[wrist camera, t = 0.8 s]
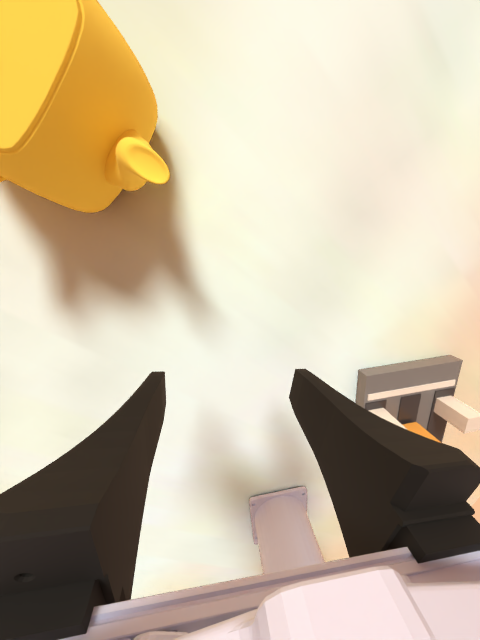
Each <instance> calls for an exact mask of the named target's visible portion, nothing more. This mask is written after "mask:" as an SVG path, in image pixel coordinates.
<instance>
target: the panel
mask: <svg viewBox="0 0 480 640" xmlns="http://www.w3.org/2000/svg"><path fill="white" fill-rule="evenodd" d="M462 361H463V360H461V359H458V358H456V357H454V356H452V355H447V356H441V357H434V358H428V359H422V360H416V361H409V362H403V363H397V364H391V365H385V366H378V367H372V368H366V369H360V370H359V372H358V383H357V394H356V404H358V405H359V406H361V407H363V408H364V409H366V410H368V411H370V412H372V413H373V414H375V415H377V416H379V417H381V418H383V419H385V420H387V421H389V422H391V423H393V424H396V425H398V426H400V427H402V428H404V429H406V428H405V427H404V426H403V425H402V424H407V423H413V422H417V423H418V424H420V425H421V426H422V427H423V428H424V429H426V430H427V431H428V432H429V433H430V434H432V435H433V436H434V437H435V438H436V439H438V440H439V441H440V442H441V443H442V439H443V435H444V431H445V427H446V424H447V422H449V423H450V424H452V425H453V426H454V427H456V428H457V429H458V430H460V431H461V432H463V433H469V432H474V431H479V430H480V412H478V411H476V410H475V409H473V408H471V407H470V406H468V405H466V404H465V403H463V402H461V401H460V400H458V399H456V398H455V397H453V396H454V392H455V388H456V385H457V381H458V377H459V373H460V369H461V365H462Z"/></svg>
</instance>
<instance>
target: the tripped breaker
mask: <svg viewBox="0 0 480 640" xmlns="http://www.w3.org/2000/svg"><path fill="white" fill-rule="evenodd" d="M402 425H403V426H404V427H405V428H406V429H407V430H409V431H411V432H414V433H416V434H419V435H421V436H424V437H426V438H429V439H432V440H434V441H437V442H440V441H439V440H438V439H436V438H435V437H434V436H433V435H432V434H430V433H429V432H428V431H427V430H426V429H424V428H423V427H422V426H421V425H420V424H418V423H417V422H413V423H407V424H402ZM440 443H441V442H440Z"/></svg>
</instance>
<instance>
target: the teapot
mask: <svg viewBox="0 0 480 640" xmlns="http://www.w3.org/2000/svg"><path fill="white" fill-rule="evenodd" d="M157 118H158V116H157V103H156V99H155V95H154V93H153V90H152V88H151V86H150V83H149V81H148V79H147V77H146V75H145V73H144V71H143V69H142V67H141V65H140V64H139V62H138V60H137V58H136V57H135V55H134V53H133V52H132V50H131V49H130V47H129V45H128V44H127V42H126V41H125V39H124V38H123V36H122V35H121V33H120V32H119V30H118V29H117V27H116V26H115V25H114V23H113V22H112V20H111V19H110V18H109V16H108V15H107V13H106V12H105V11H104V9H103V8H102V7H101V5H100V4H99V3H98V1H97V0H0V182H2V181H4V180H9V181H11V182H13V183H15V184H16V185H18V186H20V187H22V188H24V189H26V190H29V191H31V192H33V193H35V194H37V195H39V196H41V197H43V198H46V199H48V200H50V201H53V202H55V203H57V204H60V205H63V206H65V207H68V208H70V209H73V210H77V211H81V212H86V213H93V212H99V211H102V210H104V209H105V208H106V207H108V206H109V205H110V204H111V203H112V202H113V201H114V199H115V198H116V197H117V196H118V195H119V193H120V192H121V191H122V189H124V190H127V191H134V190H138V189H140V188H141V187H142V186H143V185H144V184H145V183H146V182H147V181H148V182H151V183H154V184H165V183H166V182H167V181H168V180H169V178H170V172H169V169H168V167H167V165H166V164H165V162H164V161H163V159H162V158H161V157H160V156H159V155H158V154H157V153H156V152H155V151H154V150H153V149H152V147H151V146H150V145H149V143H150V140H151V138H152V135H153V133H154V130H155V128H156V123H157Z"/></svg>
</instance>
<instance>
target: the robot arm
mask: <svg viewBox="0 0 480 640" xmlns="http://www.w3.org/2000/svg"><path fill="white" fill-rule="evenodd" d="M289 399H290V402H291V405H292V408H293V411H294V413H295V416H296V418H297V420H298V422H299V424H300V426H301V428H302V430H303V432H304V434H305V436H306V438H307V440H308V442H309V444H310V446H311V448H312V450H313V452H314V455H315V457H316V459H317V461H318V464H319V467H320V469H321V472H322V474H323V477H324V480H325V483H326V485H327V488H328V491H329V494H330V497H331V499H332V502H333V505H334V509H335V512H336V515H337V518H338V521H339V524H340V527H341V530H342V534H343V537H344V540H345V544H346V547H347V551H348V554H349V558H345V559H340V560H335V561H330V562H324V559H323V556H322V553H321V551H320V548H319V545H318V543H317V540H316V537H315V535H314V532H313V529H312V526H311V524H310V521H309V518H308V516H307V489H306V487H304V486H302V487H297V488H292V489H287V490H283V491H278V492H273V493H269V494H264V495H259V496H254V497H251V498H250V499H249V504H250V513H251V522H252V531H253V539H254V544H258V545H259V550H260V556H261V562H262V568H263V574H262V575H257V576H252V577H246V578H241V579H236V580H231V581H226V582H220V583H215V584H210V585H205V586H200V587H194V588H189V589H184V590H179V591H174V592H168V593H163V594H158V595H153V596H148V597H142V598H137V599H132V600H131V593H132V586H133V579H134V571H135V564H136V557H137V551H138V544H139V537H140V531H141V524H142V518H143V512H144V506H145V499H146V493H147V488H148V482H149V476H150V472H151V467H152V463H153V459H154V455H155V452H156V448H157V444H158V440H159V436H160V433H161V429H162V425H163V420H164V414H165V407H166V390H165V372H151V373H150V374H149V376H148V377H147V378H146V380H145V381H144V382H143V383H142V384H141V386H140V387H139V388H138V389H137V390H136V391H135V393H134V394H133V395H132V396H131V397H130V398H129V399H128V400H127V401H126V402H125V403H124V404H123V405H122V406H121V408H120V409H119V410H118V411H117V412H116V413H115V414H114V415H112V416H111V417H110V418H109V419H108V420H107V421H106V422H105V423H104V424H103V425H101V426H100V427H99V428H98V429H97V430H96V431H94V432H93V433H92V434H91V435H89V436H88V437H87V438H86V439H84V440H83V441H82V442H80V443H79V444H78V445H76V446H75V447H74V448H72V449H71V450H70V451H68V452H67V453H65V454H64V455H63V456H61V457H60V458H58V459H57V460H55V461H54V462H52V463H51V464H49V465H48V466H46V467H45V468H43V469H41V470H40V471H38V472H37V473H35V474H34V475H32V476H30V477H28V478H27V479H25V480H23V481H22V482H20V483H18V484H17V485H15V486H13V487H12V488H10V489H8V490H7V491H5V492H3V493H1V494H0V640H480V524H479V523H478V522H477V521H476V520H475V518H473V516H472V515H473V514H474V513H475V511H474V509H473V508H472V507H471V506H470V505H469V504H468V503H467V502H466V500H467V499H468V498H469V497H470V495H471V494H472V493H473V492H474V490H475V489H476V488H477V487H478V485H479V484H480V467H479V466H478V465H476V464H475V463H474V462H473V461H472V460H471V459H470V458H469V457H467V456H466V455H465V454H464V453H463V452H462V451H461V450H459V449H457V448H454V447H451V446H449V445H446V444H443V443H440V442H437V441H434V440H432V439H429V438H426V437H424V436H421V435H419V434H416V433H414V432H411V431H409V430H407V429H404V428H402V427H400V426H398V425H396V424H393V423H391V422H389V421H387V420H385V419H383V418H381V417H379V416H377V415H375V414H373V413H372V412H370V411H368V410H366V409H364V408H363V407H361V406H359V405H358V404H356V403H354V402H353V401H351V400H350V399H348V398H347V397H345V396H343V395H342V394H341V393H339V392H338V391H336V390H335V389H333V388H332V387H330V386H329V385H328V384H326V383H325V382H323V381H322V380H321V379H319V378H318V377H317V376H315V375H314V374H312V373H311V372H309V371H308V370H306V369H295V373H294V378H293V382H292V387H291V391H290V395H289Z"/></svg>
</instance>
